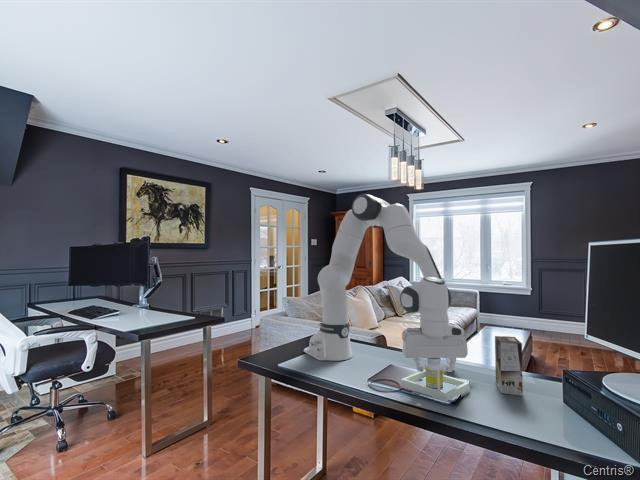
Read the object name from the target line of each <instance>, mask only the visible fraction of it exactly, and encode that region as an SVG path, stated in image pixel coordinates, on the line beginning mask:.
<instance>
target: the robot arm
mask: <svg viewBox="0 0 640 480" xmlns="http://www.w3.org/2000/svg"><path fill="white" fill-rule="evenodd" d="M370 227H371V228H374V229H380V228H381V229H383V232H384V237H385V241H386V244H387V247H388V248H389V250H390V251H392V253H394V254H396V255H398V256H401V257H403V258H406V259H408V260H411V261H412V262H413V263H415V264H416V265H417V266H418V268H419V269H420V272H421V274H422V276H423V278H421V280H420V281H419V282H417V283H415V284H411V285H408V286H405V287H404V288H403V289H402V290H401V293H400V297H399V300H400V305H401V307H402V309H403V310H404V311H405V312H407V313H408V314H419V327H413V328H411V327H407V328H406V329H403V331H402V333H401V337H402V338H401V339H402V341H403V342H402V347H401V349H402V355H403V356H404V357H405V358H407V359H412V360H413V361H414V363H415V365H416V370H417V372H423V370H424V366H423V364H420V363H419V362H420V360H421V359H427V358H440V359H446V358H449V359H450V362H449V364H448V365H447V364H445V371H446V372H453V371H454V370H453V365H454V364H456V362H457V359H465V358H466V357H467V356H468V355H469V354H468V350H469V349H468V342H467V339H466V337H465V336H464V335H465V333H466V332H465V329H464V328H462V327H461V326H460V325H456V324H454V323H451V322H449V321H450V320H449V316H448V310H449V308H450V307H451V304H452V300H453V299H452V294H451V291H450V289H449V288H448V286H447V282H446V281H445V280H444V279H443V277H442V276H441V273H440V271H439V269H438V267H437V265H436V263H435V260H434V258H433V255H432V253H431V250H429V248H428V246H427V245H426V244H425V243H423V242H422V240H421V239H420V238H419V236H418V234H417V232H416V230H415V226H414V223H413V219H412V218H411V215H410V213H409V211H408V209H407V208H406V206H405V205H403V204H400V203H393V204H392V203H390V202H387V201H386V200H384V199H382V198H379V197H376V196H373V195H371V194H367V193H363V194H359V195H357V196H356V197H355V198H354V200H353V201H352V204H351V209H349V210H347V212H346V213H345V215H344V217H343V218H342V221H341V222H340V225H339V227H338V230H337V233H336V236H335V238H334V242H333V244H332V247H331V257H330V260H329V264H328V265H325V266H324V267H322V268H321V270H320V271H319V273H318V275H317V283H318V286H319V292H320V297H321V303H322V309H321V310H322V322H319V323H318V326H320V327H319V330H318V331H317V332H316V333H315V334H313V335H312V336H311V337H310V339H309V345H308V346H307V347H305V348H304V349H303V352H304V353H306V354H308V355H309V356H311V357H312V358H314V359H316V360H318V361H330V362H331V361H333V362H334V361H335V362H337V361H344V360H345V361H346V360H349V359H351V358H352V357H353V349H352V347H351V338H350V333H349V332H350V322H349V303H348V297H347V291H346V287H347V286H348V285H349V283H350V282H351V279H352V276H353V275H352V274H353V272H354V267H355V265H356V259H357V256H358V254H359V251H360V249H361V248H360V247H361V244H362V242H363V239H364V237H365V234H366V231H367V229H368V228H370Z"/></svg>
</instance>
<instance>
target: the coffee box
mask: <svg viewBox="0 0 640 480" xmlns="http://www.w3.org/2000/svg"><path fill="white" fill-rule="evenodd" d="M494 357H495V358H494V359H495V360H494V361H495V362H494V363H495V385H496V386H497V388H498V390H499V391H500V394H505V395H513V396H523V393H524V391H523V390H524V389H523V387H524V386H523V343H522V342H521V341H520V340H519V339H517V337H515V336H505V335H504V336H502V335H501V336H499V335H495V336H494Z"/></svg>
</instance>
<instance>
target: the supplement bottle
mask: <svg viewBox="0 0 640 480" xmlns="http://www.w3.org/2000/svg"><path fill="white" fill-rule="evenodd" d="M426 360H427V363H426V364H425V366H424V367H425V368H424V370H425V375H426V386H427V387H430V388H432V389H435V390H438V391H440V390H443V375H444V367H443V365H442V364H441V358H426Z"/></svg>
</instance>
